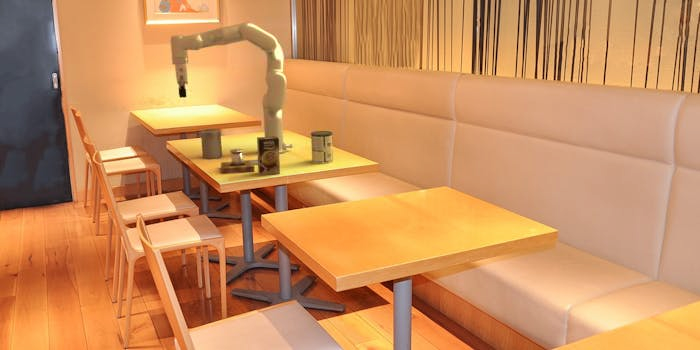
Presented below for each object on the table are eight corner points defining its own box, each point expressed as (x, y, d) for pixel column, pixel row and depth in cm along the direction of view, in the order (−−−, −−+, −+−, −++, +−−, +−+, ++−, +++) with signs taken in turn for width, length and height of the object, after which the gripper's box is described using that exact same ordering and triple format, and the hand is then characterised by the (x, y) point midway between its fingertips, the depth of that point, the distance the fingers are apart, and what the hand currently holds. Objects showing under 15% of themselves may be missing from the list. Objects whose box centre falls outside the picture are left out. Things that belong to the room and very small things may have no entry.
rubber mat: (259, 160, 312) (259, 159, 312) (261, 164, 303) (261, 163, 303) (238, 161, 310) (238, 160, 310) (240, 165, 300) (240, 164, 300)
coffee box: (259, 175, 280) (258, 139, 276) (258, 172, 286) (256, 137, 282) (280, 174, 282) (279, 138, 278) (278, 171, 288) (276, 135, 285)
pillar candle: (212, 154, 328) (209, 125, 324) (226, 156, 323) (224, 127, 319) (198, 158, 320) (196, 128, 316) (213, 160, 315) (210, 130, 311)
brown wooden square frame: (251, 165, 300) (251, 160, 300) (254, 171, 287) (254, 166, 287) (221, 167, 297) (220, 162, 297) (223, 173, 284) (222, 168, 283)
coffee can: (315, 158, 314) (314, 130, 311) (335, 159, 311) (335, 131, 308) (308, 163, 304) (307, 133, 301) (329, 164, 301) (328, 134, 298)
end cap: (243, 167, 296) (242, 148, 294) (244, 170, 290) (243, 151, 288) (230, 168, 294) (229, 149, 292) (231, 171, 289) (230, 151, 287)
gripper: (188, 61, 303) (191, 97, 307) (187, 60, 319) (189, 94, 323) (172, 62, 301) (175, 98, 305) (171, 60, 317) (174, 95, 321)
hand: (182, 96), depth 314 cm, fingers open, 9 cm apart
